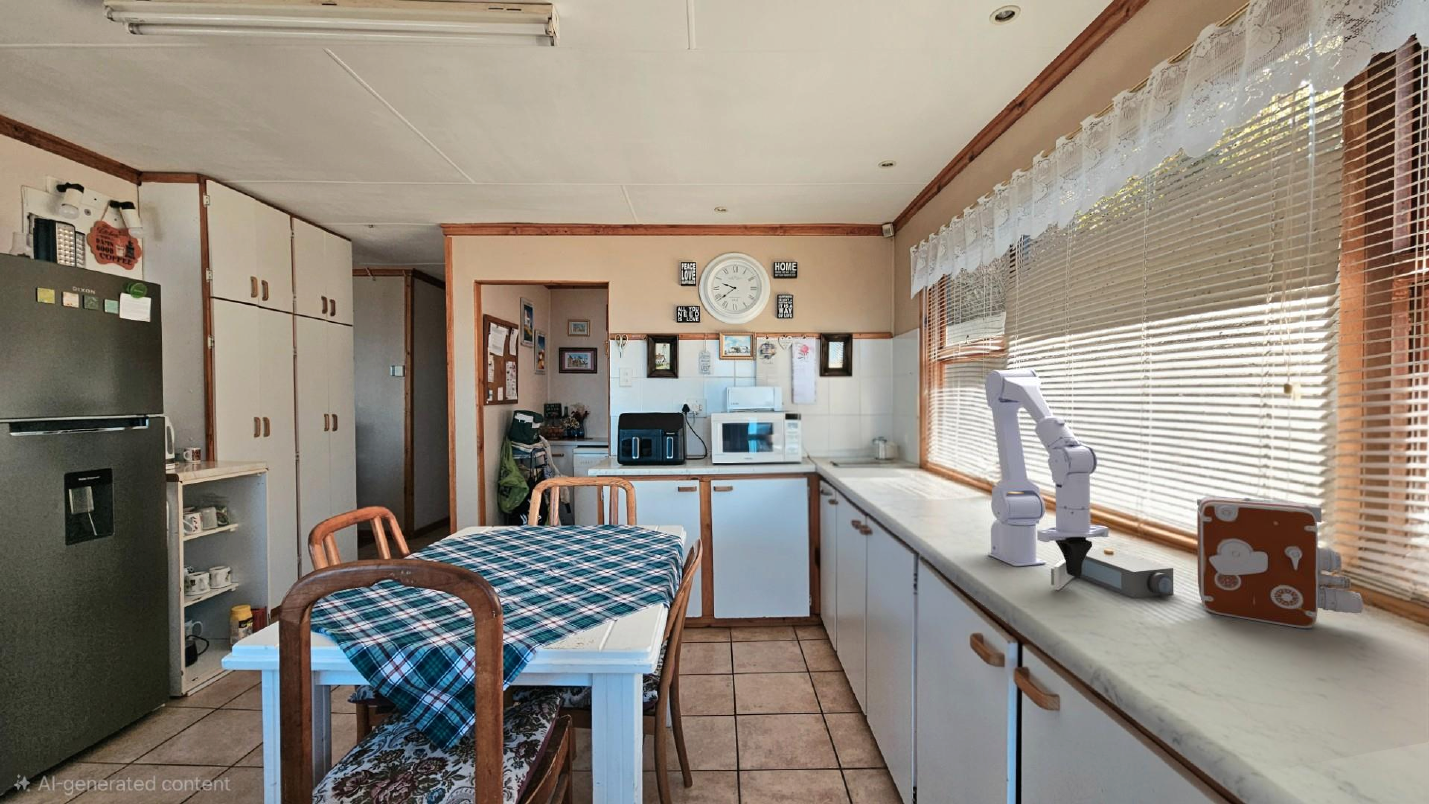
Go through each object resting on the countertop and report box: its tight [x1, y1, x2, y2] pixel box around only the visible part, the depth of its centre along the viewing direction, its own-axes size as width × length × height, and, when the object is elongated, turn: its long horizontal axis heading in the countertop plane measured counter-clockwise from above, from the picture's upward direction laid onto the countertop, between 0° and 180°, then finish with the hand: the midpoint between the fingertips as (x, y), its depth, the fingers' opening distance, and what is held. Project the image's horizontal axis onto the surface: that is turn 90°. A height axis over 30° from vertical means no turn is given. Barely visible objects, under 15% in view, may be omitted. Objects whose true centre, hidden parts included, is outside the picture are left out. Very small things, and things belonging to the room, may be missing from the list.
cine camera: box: [1196, 496, 1364, 629], centre depth 93 cm, size 9×19×20 cm, turn 53°
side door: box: [1050, 558, 1075, 591], centre depth 113 cm, size 12×1×5 cm, turn 133°
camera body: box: [1079, 547, 1174, 599], centre depth 110 cm, size 16×9×6 cm, turn 11°
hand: (1073, 575), depth 109 cm, fingers closed, pressing on side door
